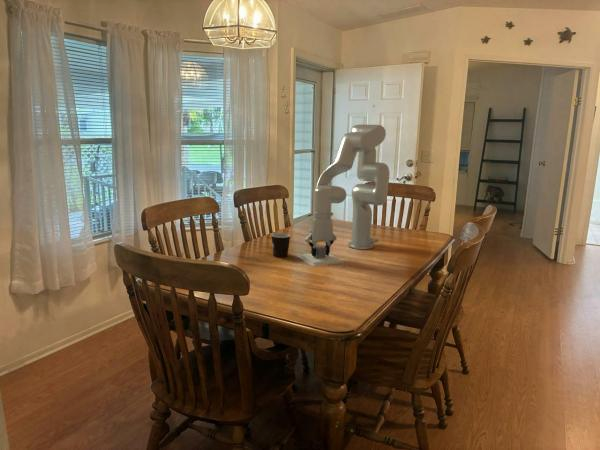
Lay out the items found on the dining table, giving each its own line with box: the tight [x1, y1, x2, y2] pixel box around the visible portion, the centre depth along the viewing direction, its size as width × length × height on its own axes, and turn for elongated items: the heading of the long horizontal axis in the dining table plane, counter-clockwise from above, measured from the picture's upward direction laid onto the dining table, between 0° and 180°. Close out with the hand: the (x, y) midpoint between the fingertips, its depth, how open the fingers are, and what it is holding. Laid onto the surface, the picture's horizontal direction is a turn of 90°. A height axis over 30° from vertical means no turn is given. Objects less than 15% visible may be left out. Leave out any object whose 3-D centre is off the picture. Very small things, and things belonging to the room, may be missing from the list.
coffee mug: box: [270, 232, 291, 259], centre depth 203 cm, size 12×9×10 cm
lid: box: [300, 245, 341, 265], centre depth 199 cm, size 13×13×6 cm
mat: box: [297, 255, 345, 267], centre depth 199 cm, size 16×16×1 cm
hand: (320, 255), depth 199 cm, fingers open, 5 cm apart
